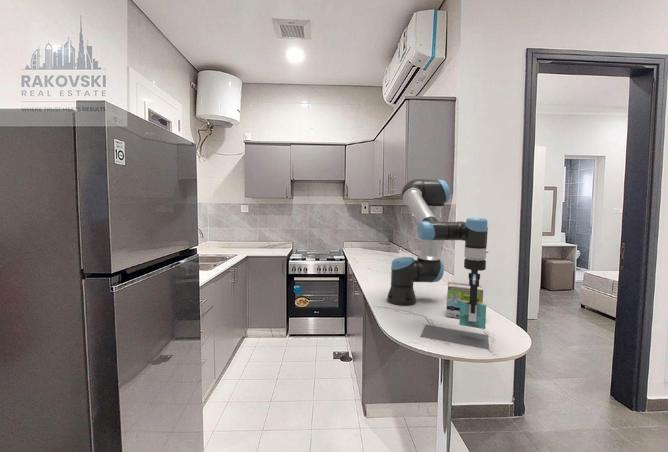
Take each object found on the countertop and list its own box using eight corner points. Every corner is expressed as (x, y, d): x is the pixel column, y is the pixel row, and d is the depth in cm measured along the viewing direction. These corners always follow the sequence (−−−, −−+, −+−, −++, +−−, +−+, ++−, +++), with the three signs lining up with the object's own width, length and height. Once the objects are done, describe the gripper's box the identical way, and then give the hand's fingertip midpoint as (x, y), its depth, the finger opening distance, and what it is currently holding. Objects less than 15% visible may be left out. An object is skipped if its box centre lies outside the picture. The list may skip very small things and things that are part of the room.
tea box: (446, 317, 146) (447, 285, 145) (446, 310, 156) (447, 281, 155) (482, 322, 141) (483, 289, 140) (480, 314, 150) (481, 284, 149)
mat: (419, 338, 122) (420, 336, 122) (425, 325, 135) (425, 324, 135) (489, 351, 112) (489, 349, 112) (488, 336, 125) (488, 335, 125)
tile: (459, 325, 122) (460, 301, 122) (459, 322, 125) (460, 299, 124) (485, 329, 118) (486, 305, 118) (485, 326, 121) (486, 303, 121)
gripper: (486, 262, 111) (483, 328, 113) (485, 256, 126) (483, 314, 127) (463, 261, 114) (460, 324, 116) (465, 255, 129) (462, 311, 130)
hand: (472, 319), depth 121 cm, fingers closed on tile, 3 cm apart
